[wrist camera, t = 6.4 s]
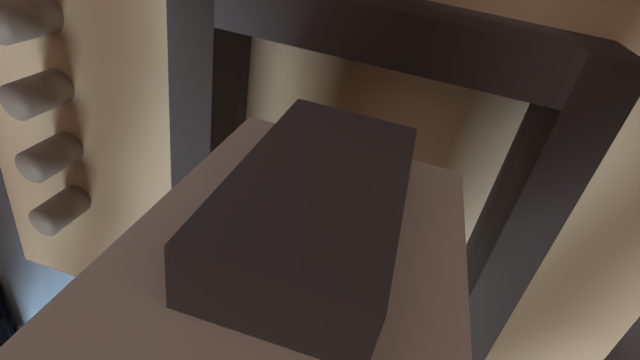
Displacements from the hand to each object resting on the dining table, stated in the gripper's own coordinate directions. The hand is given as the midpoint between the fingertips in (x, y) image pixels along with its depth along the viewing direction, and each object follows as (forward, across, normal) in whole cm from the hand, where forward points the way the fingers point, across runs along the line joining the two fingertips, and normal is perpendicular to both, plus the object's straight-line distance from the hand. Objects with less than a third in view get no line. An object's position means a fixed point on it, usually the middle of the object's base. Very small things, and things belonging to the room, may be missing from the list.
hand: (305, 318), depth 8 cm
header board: (+6, +2, 0) cm, 6 cm away
